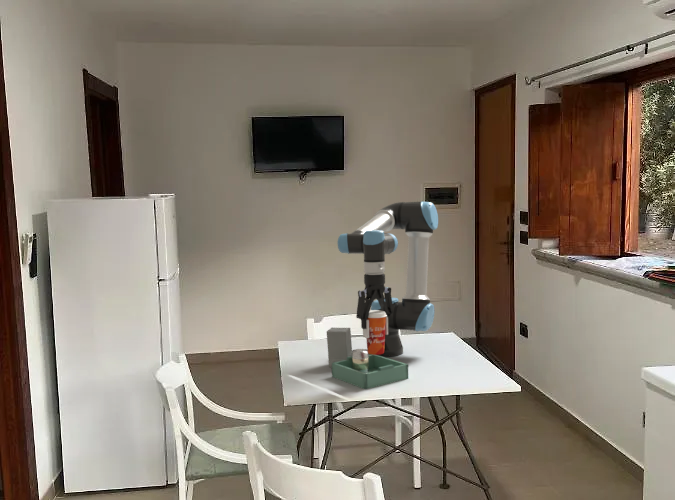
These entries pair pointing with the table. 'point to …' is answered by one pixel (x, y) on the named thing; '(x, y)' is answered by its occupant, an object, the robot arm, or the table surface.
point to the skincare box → (339, 344)
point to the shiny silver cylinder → (360, 360)
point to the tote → (371, 372)
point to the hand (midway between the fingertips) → (375, 335)
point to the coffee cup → (376, 332)
